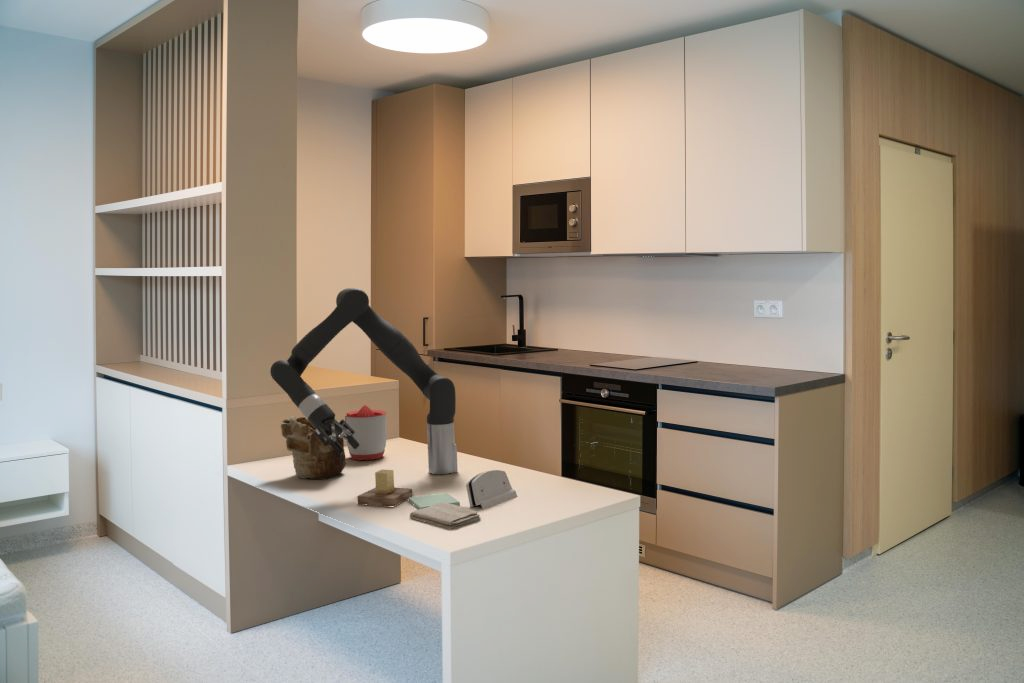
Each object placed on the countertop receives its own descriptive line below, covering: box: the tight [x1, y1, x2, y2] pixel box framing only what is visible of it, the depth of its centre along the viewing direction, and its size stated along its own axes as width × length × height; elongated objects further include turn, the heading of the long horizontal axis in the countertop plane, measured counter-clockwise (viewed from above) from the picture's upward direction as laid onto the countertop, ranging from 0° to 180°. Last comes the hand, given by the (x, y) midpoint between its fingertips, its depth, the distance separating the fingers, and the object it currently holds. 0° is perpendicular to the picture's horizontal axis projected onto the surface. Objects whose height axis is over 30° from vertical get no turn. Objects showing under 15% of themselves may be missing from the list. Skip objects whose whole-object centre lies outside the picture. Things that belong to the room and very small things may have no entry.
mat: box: [407, 492, 461, 510], centre depth 245 cm, size 12×12×1 cm
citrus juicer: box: [344, 404, 388, 461], centre depth 309 cm, size 16×17×20 cm
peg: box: [374, 469, 395, 495], centre depth 249 cm, size 4×4×9 cm
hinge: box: [465, 469, 518, 510], centre depth 245 cm, size 17×5×10 cm, turn 142°
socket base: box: [357, 486, 414, 507], centre depth 249 cm, size 12×12×2 cm
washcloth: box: [409, 502, 481, 530], centre depth 228 cm, size 12×18×3 cm, turn 48°
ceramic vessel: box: [280, 415, 347, 480], centre depth 283 cm, size 23×24×25 cm
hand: (349, 450), depth 252 cm, fingers open, 8 cm apart
